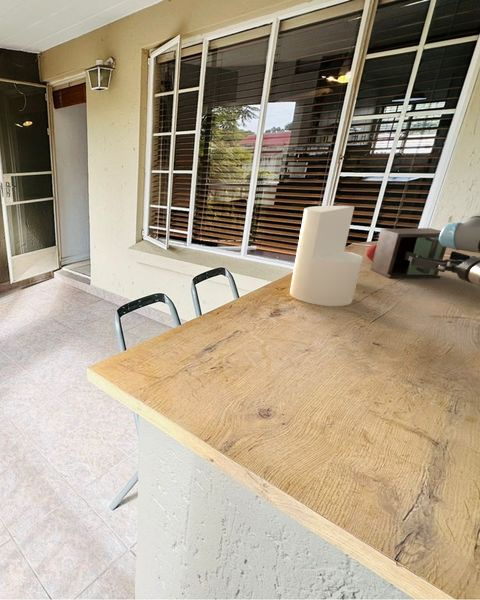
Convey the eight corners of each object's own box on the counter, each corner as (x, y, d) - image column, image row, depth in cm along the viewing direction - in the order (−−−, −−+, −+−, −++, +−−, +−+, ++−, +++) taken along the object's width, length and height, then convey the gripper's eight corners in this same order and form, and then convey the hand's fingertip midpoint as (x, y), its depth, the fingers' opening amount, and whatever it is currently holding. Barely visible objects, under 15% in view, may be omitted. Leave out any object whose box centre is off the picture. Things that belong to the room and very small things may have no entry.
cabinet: (440, 278, 124) (455, 233, 119) (389, 278, 127) (401, 234, 122) (417, 269, 135) (429, 228, 129) (370, 269, 138) (380, 229, 132)
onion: (362, 261, 149) (367, 242, 146) (366, 258, 152) (370, 240, 149) (379, 263, 144) (384, 244, 142) (383, 261, 148) (388, 242, 145)
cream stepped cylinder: (278, 294, 118) (292, 209, 108) (309, 284, 125) (325, 204, 115) (332, 310, 104) (354, 214, 94) (364, 298, 111) (387, 208, 101)
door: (444, 278, 120) (457, 239, 115) (417, 278, 122) (429, 239, 117) (432, 274, 125) (444, 236, 121) (406, 274, 127) (417, 236, 122)
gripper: (429, 284, 106) (385, 265, 126) (528, 285, 102) (467, 265, 121) (436, 260, 104) (391, 245, 123) (539, 260, 99) (474, 244, 119)
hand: (428, 255), depth 122 cm, fingers open, 13 cm apart
